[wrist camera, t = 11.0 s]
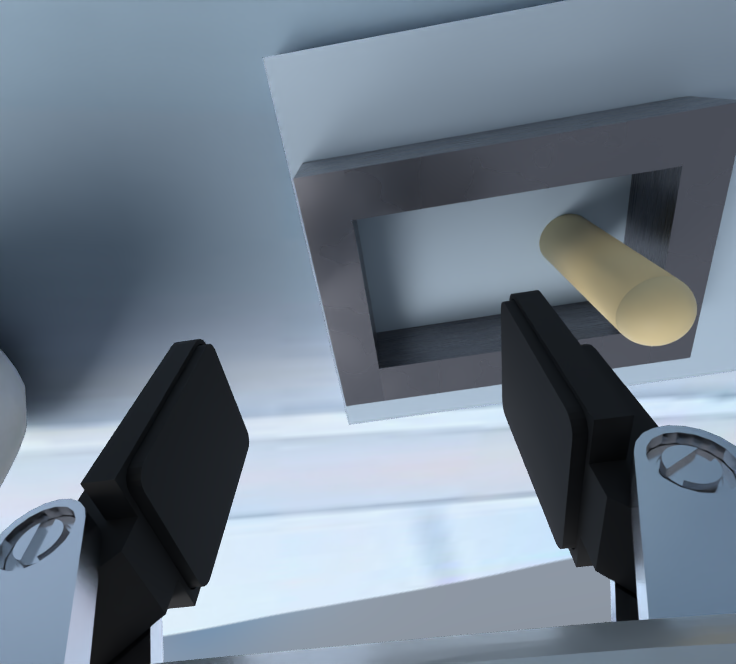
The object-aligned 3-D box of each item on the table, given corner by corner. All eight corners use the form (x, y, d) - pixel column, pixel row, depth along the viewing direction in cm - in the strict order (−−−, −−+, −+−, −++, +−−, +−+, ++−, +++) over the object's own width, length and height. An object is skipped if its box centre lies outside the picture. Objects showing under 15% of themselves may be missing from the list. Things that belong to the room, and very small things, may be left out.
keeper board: (850, -50, 14) (1393, -182, 7) (740, 340, 21) (948, 486, 14) (273, 59, 15) (194, 49, 8) (349, 396, 22) (346, 559, 15)
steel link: (687, 96, 14) (748, 100, 12) (649, 323, 18) (690, 357, 16) (302, 162, 15) (293, 178, 13) (347, 367, 19) (346, 406, 16)
